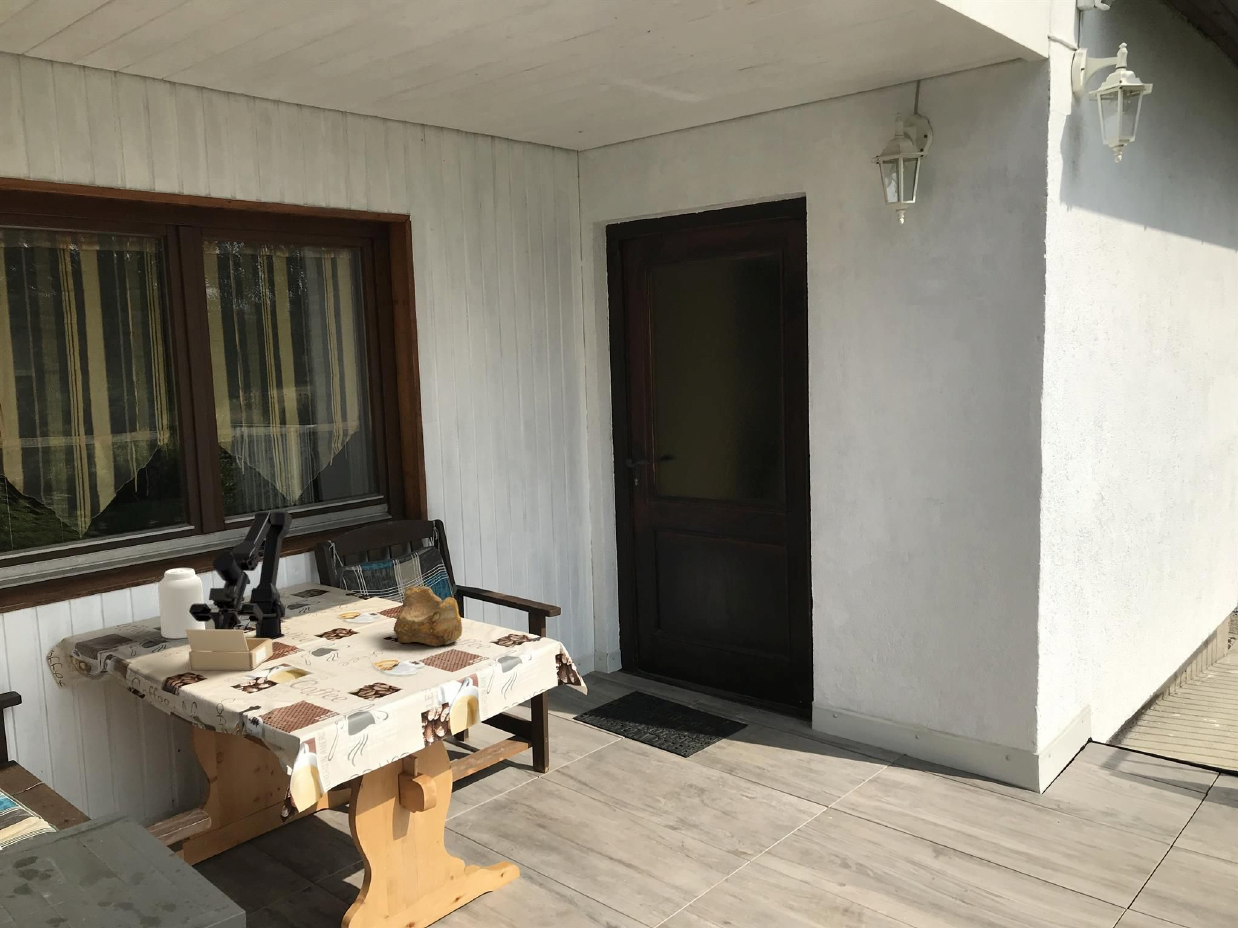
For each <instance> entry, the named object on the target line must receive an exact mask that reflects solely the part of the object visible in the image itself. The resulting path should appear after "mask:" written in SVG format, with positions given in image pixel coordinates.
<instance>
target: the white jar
mask: <svg viewBox="0 0 1238 928" xmlns="http://www.w3.org/2000/svg"><path fill="white" fill-rule="evenodd" d="M163 576H164V577H163V578H162V579H161V580H160V581H159V582H158V588H157V589H158V604H159V619H160V634H161V636H162V637H163V638H166V639H170V640H171V639H178V640H179V639H188V637H187V633H186V629H203V630H206V622H199V621H196V620H195V619H194V617H193V616H192V615H191V614H190V612H189V610H190V607H191V605H192V604H194V603H204V591H203V587H204V585H203V582H202V579H201V577H199V576H198V575H196V572H195V569H194V568H190V567H178V568H172V569H171V568H170V569H168V570H166V571H165V572H164V574H163Z"/></svg>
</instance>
